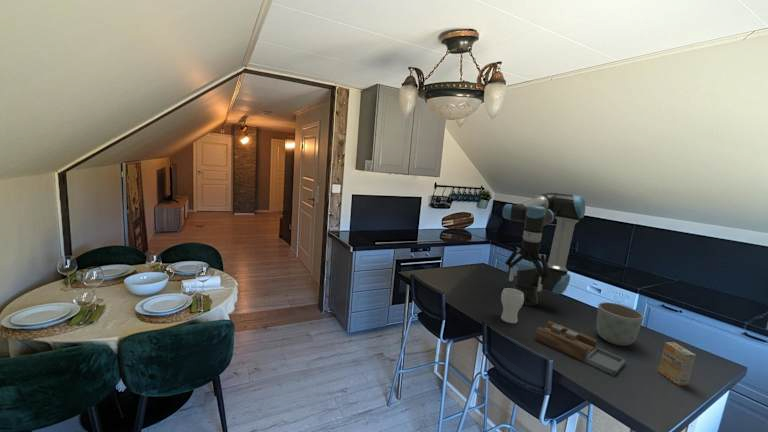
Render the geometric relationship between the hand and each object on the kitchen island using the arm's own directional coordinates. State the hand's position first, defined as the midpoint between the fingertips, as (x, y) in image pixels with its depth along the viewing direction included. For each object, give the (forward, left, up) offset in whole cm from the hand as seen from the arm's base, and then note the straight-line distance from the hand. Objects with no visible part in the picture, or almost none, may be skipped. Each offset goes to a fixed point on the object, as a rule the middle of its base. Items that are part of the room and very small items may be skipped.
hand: (524, 285), depth 148 cm
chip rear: (-8, +14, -20) cm, 26 cm away
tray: (-8, +33, -23) cm, 41 cm away
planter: (-34, +30, -24) cm, 51 cm away
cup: (-9, -9, -24) cm, 27 cm away
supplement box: (-20, +53, -24) cm, 61 cm away
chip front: (-8, +20, -20) cm, 30 cm away
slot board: (-8, +18, -23) cm, 30 cm away
